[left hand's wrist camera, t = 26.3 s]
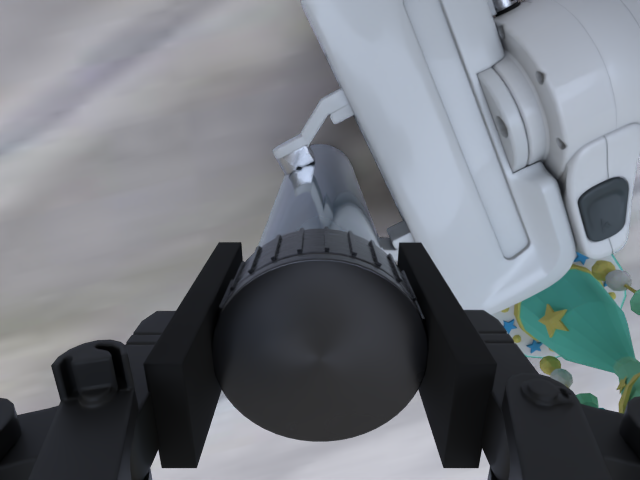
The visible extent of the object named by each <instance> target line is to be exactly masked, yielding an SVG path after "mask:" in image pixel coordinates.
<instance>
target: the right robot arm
mask: <svg viewBox="0 0 640 480" xmlns="http://www.w3.org/2000/svg"><path fill="white" fill-rule="evenodd" d="M300 1H301V5H302V8H303V10H304V12H305V15H306V17H307V19H308V21H309V23H310V25H311V27H312V29H313V32H314V34H315V36H316V38H317V40H318V42H319V44H320V46H321V48H322V50H323V53H324V55H325V57H326V59H327V61H328V63H329V65H330V67H331V69H332V72H333V74H334V76H335V78H336V80H337V82H338V84H339V86H340V88H339V89H338V90H336V91H334V92H332V93H330V94H329V95H327V96H325V97H323V98H321V99H320V101H319V103H318V104H317V106H316V108H315V109H314V111H313V113H312V114H311V116H310V118H309V119H308V121H307V122H306V124H305V126H304V127H303V129H302V131H301V133H300V134H299V135H297V136H295V137H293V138H291V139H289V140H287V141H286V142H284V143H282V144H280V145H279V146H277V147H276V148H274V149H273V151H272V152H273V154H274V156H275V158H276V159H277V161H278V163H279V165H280V166H281V168H282V170H283V171H284V173H285V175H289V174H291V173H293V172H294V171H296V170H297V168H298V167H304V166H306V165H308V164H310V163H312V162H314V158H315V155H314V153H313V151H312V149H311V147H310V143H311V142H312V140H313V138H314V137H315V135H316V134H317V132H318V130H319V129H320V127H321V126H322V124H323V122H324V121H325V119H326V118H327V116H328V115H330V118H331V120H332V122H333V124H338V123H340V122H342V121H343V120H345V119H347V118H349V117H351V116H354V118H355V120H356V122H357V124H358V126H359V128H360V131H361V133H362V135H363V137H364V139H365V141H366V143H367V145H368V147H369V150H370V152H371V154H372V156H373V158H374V160H375V162H376V164H377V166H378V169H379V171H380V173H381V175H382V177H383V179H384V181H385V183H386V185H387V187H388V190H389V192H390V194H391V196H392V198H393V200H394V202H395V204H396V206H397V209H398V211H399V213H400V215H401V217H402V219H403V221H402V222H400V223H398V224H396V225H394V226H392V227H389V228H388V229H387V232H388V235H389V237H390V238H381V237H379V239H380V242H381V244H382V247H383V250H384V252H385V253H386V254H387V255H388V254H389V253H390V254H391V255H392V256H393V258H394V261H397V262H398V250H399V242H421V243H422V244H423V246H424V248H425V249H426V251H427V252H428V254H429V256H430V257H431V259H432V260H433V262H434V264H435V265H436V267H437V268H438V270H439V272H440V273H441V275H442V276H443V278H444V280H445V281H446V283H447V284H448V286H449V288H450V289H451V291H452V292H453V294H454V296H455V297H456V299H457V300H458V302H459V304H460V305H461V307H462V308H463V310H485V311H486V312H488V313H489V314H491V315H492V314H495V313H497V312H500V311H502V310H504V309H506V308H509V307H511V306H513V305H515V304H517V303H519V302H521V301H523V300H525V299H527V298H529V297H531V296H533V295H535V294H537V293H539V292H541V291H543V290H544V289H546V288H548V287H550V286H551V285H553V284H554V283H556V282H557V281H558V280H560V279H561V278H562V277H563V276H564V275H565V274H566V273H567V272H568V271H569V269H570V268H571V266H572V264H573V262H574V259H575V254H576V252H578V253H580V254H582V255H584V256H586V257H588V258H591V259H600V258H603V257H606V256H609V255H611V254H614V253H615V252H617V251H619V250H620V249H622V248H623V246H624V245H625V244H626V241H627V239H628V234H629V225H630V214H631V204H632V196H633V188H634V182H635V176H636V171H637V166H638V161H639V157H640V0H525V1H523V2H521V3H520V2H519V3H518V0H300ZM494 15H496V17H495V18H493V16H494Z"/></svg>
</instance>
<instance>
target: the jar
mask: <svg viewBox="0 0 640 480" xmlns="http://www.w3.org/2000/svg"><path fill="white" fill-rule="evenodd" d="M310 147H311V149H312V151H313V153H314V155H315V158H314V162H312V163H310V164H308V165H306V166H304V167H298V168H297V170H296V171H294V172H293V173H291V174H289V175H285V176H284V179H283V181H282V184H281V186H280V189H279V192H278V194H277V197H276V200H275V202H274V205H273V208H272V210H271V213H270V216H269V218H268V221H267V224H266V226H265V229H264V231H263V234H262V237H261V239H260V242H259V245H258V246H260V247H262V246H264V245H265V244H266V243H268V242H270V241H272V240H274V239H275V238H276V236H277V235H279V234H280V235H281V236H283V235H285V234H288V233H292V232H296V231H299V230H300V228H304V230H307V229H324V227H325V226H327V227H328V229H333V230H340V231H344V232H348V231H349V230H350V231H353V234H354V235H357V236H360V237H362V238H364V239H366V240H368V241H370V240H373V241H374V242H375V245H376V246H378V247H379V248H380V249H382V250H383V247H382V244H381V242H380V239H379V236H378V234H377V231H376V228H375V226H374V223H373V220H372V218H371V215H370V212H369V210H368V207H367V204H366V202H365V199H364V196H363V194H362V191H361V188H360V186H359V183H358V180H357V178H356V175H355V172H354V170H353V167H352V164H351V162H350V161H349V159H348V158H347V156H346V155H345V154H344V153H343V152H342V151H340V150H339V149H337V148H335V147H333V146H330V145H326V144H314V145H310ZM383 251H384V250H383Z"/></svg>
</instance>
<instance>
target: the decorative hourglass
mask: <svg viewBox="0 0 640 480" xmlns="http://www.w3.org/2000/svg"><path fill="white" fill-rule="evenodd" d="M631 281H632V280H631V277H630V275H629V274H628V273H627V272H626V271H623V269H622V268H621V266H620V265H619V263H618V262H617V260H616V259H615V257H614V255H613V254H611V255H609V256H606V257H603V258H600V259H591V258H588V257H586V256H584V255H582V254H580V253H578V252H576V254H575V259H574V262H573V264H572V266H571V268H570V269H569V271H568V272H567V273H566V274H565V275H564V276H563V277H562V278H561V279H560V280H558V281H557V282H556V283H554V284H553V285H551V286H550V287H548V288H546V289H544V290H543V291H541V292H539V293H537V294H535V295H533V296H531V297H529V298H527V299H525V300H523V301H521V302H519V303H517V304H515V305H513V306H511V307H509V308H506V309H504V310H502V311H500V312H497V313H495V314H492V316H494V317H495V318H497V319H498V320H499V321H500V323H501V324H502V325H503V327H504V328H505V329H506V331H507V334H509V335H510V336H511V337H512V339H513V340H514V343H516V344H517V345H518V347H519V348H520V349H521V351H522V352H523V353H524V355H525V356H526V357H533V358H542V359H541V361H540V368H541V370H542V371H543V372H544V373H546V374H548V375H550V378H552V379H554V380H557V381H559V382H561V383H563V384H564V385H565V386H566V387H568V388H569V387H570V386H571V385H572V383H573V380H572V375H571V374H570V373H569V372H568V371H566V370H564V369H561V363H560V361H559V360H558V359H557V357H563V358H564V359H565V360H567V361H571V362H575V363H579V364H582V365H586V366H590V367H594V368H597V369H601V370H605V371H609V372H612V373H615V374H616V375H617V376H618V377H619V383H620V384H619V386H618V388H617V390H618V389H620V393H621V395H622V396H621V399H620V401H619V413H623V414H624V412H625V409H626V406H627V402H628V401H630V400H631V399H632V398H634V397H639V396H640V362H639V361H638V360H636V359H635V355H634V351H633V346H632V342H631V337H630V333H629V328H628V324H627V321H626V318H625V315H624V312H623V311H622V310H621V308H622V306H623V303H624V301H625V298H626V290H627V289H629V290H630V291H632V292H633V293H635V294H634V295H633V297H632V299H631V300H630V305H631V310H632V311H633V312H635V313H636V314H638V315H640V290H638V291H636V290H634V289H633V288H631V287H630V286H631ZM576 397H577V398H578V400H579V401H580V404H584V405H587V406H591V407H595V408H598V400H597V397H595V396H594V395H592V394H591V393H583V394H578V395H576ZM600 409H604V408H600Z"/></svg>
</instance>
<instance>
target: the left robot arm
mask: <svg viewBox="0 0 640 480" xmlns="http://www.w3.org/2000/svg"><path fill="white" fill-rule="evenodd" d="M242 261H243V260H242V246H241V242H219V243H218V245H217V246H216V248H215V250H214V251H213V253H212V254H211V256H210V258H209V259H208V261H207V262H206V264H205V266H204V267H203V269H202V270H201V272H200V274H199V275H198V277H197V278H196V280H195V282H194V283H193V285H192V286H191V288H190V290H189V291H188V293H187V294H186V296H185V298H184V299H183V301H182V302H181V304H180V306H179V307H178V309H177V310H176V311H156V312H155V313H153V314H152V315H150V316H149V317H147V318H146V319H145V320H143V321H142V322H141V323H140V325H139V326H138V327H137V329H136V330H135V331H134V334H133V335H131V337H130V338H129V340H128V341H127V342H126V345H124V344H123V343H121V342H118V341H114V340H97V341H92V342H88V343H84V344H81V345H79V346H77V347H74V348H72V349H69V350H68V351H67V352H65V353H64V354H62V355H61V356H59V357H58V358H57V359H56V360H55V362H54V363H53V364H52V365H51V367H52V370H53V374H54V378H55V381H56V385H57V389H58V392H59V396H60V400H61V402H60V405H59V406H56V407H52V408H48V409H44V410H39V411H35V412H30V413H25V414H21V415H17V414H16V411H15V408H14V404H13V403H11V402H10V401H9V400H8V399H4V398H0V480H152V475H151V470H150V467H151V465H152V463H153V460H154V458H155V456H156V453H157V451H158V450H159V455H160V461H161V466H162V468H197V465H198V462H199V459H200V456H201V453H202V450H203V447H204V443H205V440H206V437H207V434H208V431H209V428H210V425H211V421H212V418H213V415H214V412H215V409H216V406H217V403H218V399H219V396H220V393H221V390H222V389H221V387H220V385H219V383H218V381H217V378H216V376H215V372H214V366H213V358H212V347H211V341H212V335H213V330H214V327H215V324H216V321H217V319H218V316H219V314H220V311H219V310H218V308H219V305H220V303H221V301H222V299H223V297H224V294H225V292H226V290H227V288H228V285H229V283H230V281H231V279H232V280H234V278H235V275H236V273H237V271H238V268H239V266H240V264H241V262H242ZM397 266H398V267H399V268H400V270H401V271H403V270H404V271H405V273H406V275H407V278H408V280H409V282H410V284H411V287H412V289H413V291H414V293H415V296H416V298H417V301H418V304H419V306H420V308H421V310H422V313H423V315H424V317H425V320H426V322H424V325H425V327H426V332H427V336H428V345H429V350H428V360H427V368H426V372H425V375H424V378H423V380H422V383H421V385H420V387H419V392H420V396H421V399H422V402H423V405H424V408H425V411H426V414H427V418H428V421H429V424H430V427H431V430H432V433H433V436H434V440H435V443H436V446H437V449H438V452H439V455H440V458H441V461H442V465H443V468H479V462H480V457H481V451H482V448H483V451H484V453H485V455H486V458H487V460H488V462H489V464H490V470H489V475H488V480H640V396H639V397H634V398H632V399H631V400H630V401H628V402H627V406H626V409H625V412H624V414H623V413H618V412H614V411H609V410H605V409H600V408H595V407H591V406H587V405H584V404H580V401H579V400H578V398H577V397H576V395H575V394H574V393H573V391H572V390H570V389H569V388H568V387H566V386H565V385H564V384H563V383H561V382H559V381H557V380H554V379H552V378H550V377H548V376H544V375H540V374H538V372H537V371H536V370H535V368H534V367H533V366H532V364H531V363H530V362H529V360H528V359H527V357H526V356H525V355H524V353H523V352H522V351H521V349H520V348H519V347H518V345H517V344H516V343H514V340H513V339H512V337H511V336H510V335H509V334H507V331H506V329H505V328H504V327H503V325H502V324H501V323H500V321H499V320H498V319H497V318H495V317H494V316H492V315H491V314H489V313H488V312H486V311H485V310H463V308H462V307H461V305H460V304H459V302H458V300H457V299H456V297H455V296H454V294H453V292H452V291H451V289H450V288H449V286H448V284H447V283H446V281H445V280H444V278H443V276H442V275H441V273H440V272H439V270H438V268H437V267H436V265H435V264H434V262H433V260H432V259H431V257H430V256H429V254H428V252H427V251H426V249H425V248H424V246H423V244H422V243H421V242H399V250H398V264H397Z"/></svg>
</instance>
